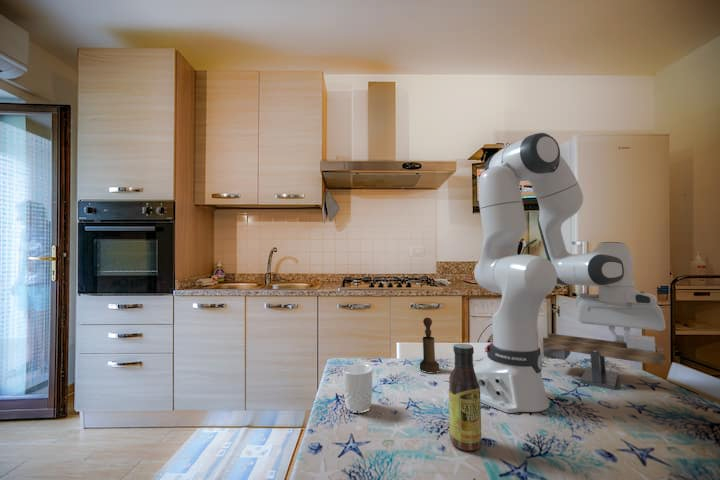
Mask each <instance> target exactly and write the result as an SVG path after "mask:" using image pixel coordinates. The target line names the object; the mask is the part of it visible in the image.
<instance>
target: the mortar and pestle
mask: <svg viewBox="0 0 720 480" xmlns="http://www.w3.org/2000/svg"><path fill="white" fill-rule="evenodd" d="M422 321H423V325H424V327H425V330H424V334H425V336H422V350H423V351H422V352H423V353H422V354H423V355H422V356H423V360H421V361H420V363H419V370H420V369H421V370H423V371H426V372H437V371H439V372H440V363H439V362H437V360H436V357H435V355H436V354H435V337H434V336H432V330H431V326H432V325H433V320H432V318H431V317H425V318H423V320H422Z"/></svg>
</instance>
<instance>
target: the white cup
mask: <svg viewBox="0 0 720 480" xmlns="http://www.w3.org/2000/svg"><path fill="white" fill-rule="evenodd" d="M342 384H343V395H344V396H343V397H344V404H345V405H344V406H346V408H347V409H349V410H350V411H364V410H367V409H369V408H370V407H371V408H372V396H373V367H372V366H370V365H368V364H362V363H354V364H349V365H348V364H347V365H346V366H344V367H343V368H342ZM346 408H345V409H346Z"/></svg>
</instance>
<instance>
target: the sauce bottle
mask: <svg viewBox="0 0 720 480" xmlns="http://www.w3.org/2000/svg"><path fill="white" fill-rule="evenodd" d="M474 351H475V350H474V346H473V345H472V344H469V343H455V344H453V353H454V368H453V369H452V370H451V372H450V375H449V379H448V380H449V383H448V384H449V386H448V387H449V388H448V401H449V402H448V404H449V406H448V407H449V411H448V412H449V419H448V421H449V422H448V423H449V436H450V437H449V438H450V442H451V444H452V445H453V447H455V448H456V449H458V450H462V451H466V452H473V451H477V450H478V449H479V448H480V447H481V444H482V408H481V406H482V405H481V402H480V386H479V384H478V381H477V378H476V375H475V371H474V368H473V367H474V366H473V365H474Z"/></svg>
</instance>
